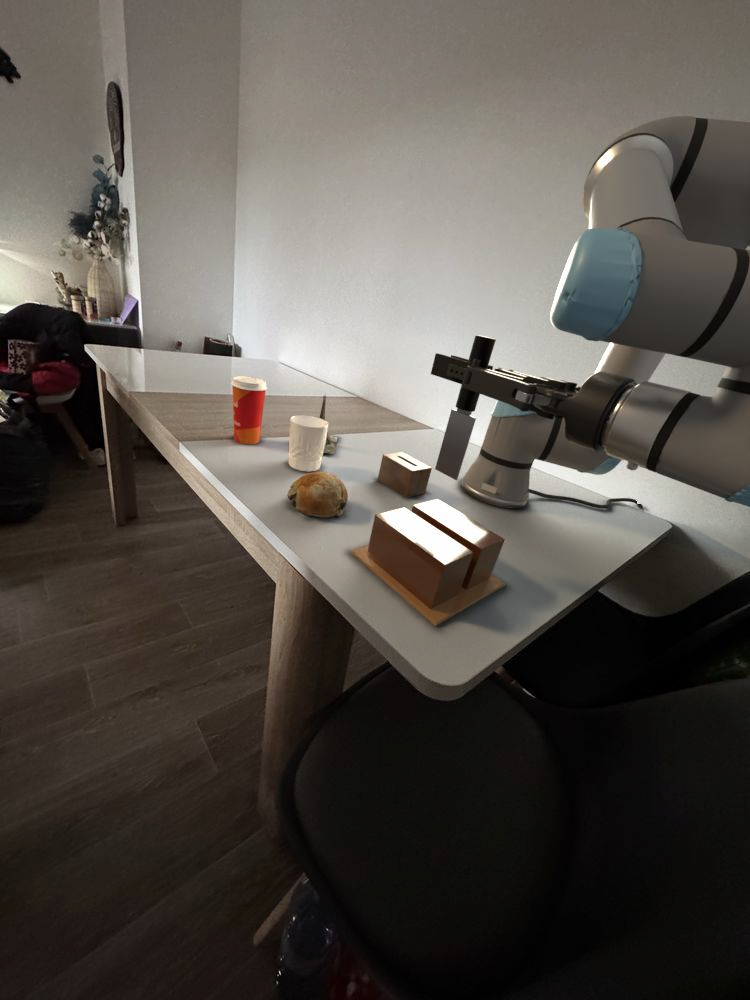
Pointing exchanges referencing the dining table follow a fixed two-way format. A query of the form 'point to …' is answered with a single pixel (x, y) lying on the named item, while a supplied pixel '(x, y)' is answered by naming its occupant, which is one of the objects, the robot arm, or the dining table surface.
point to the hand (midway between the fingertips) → (442, 364)
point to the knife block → (404, 474)
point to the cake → (433, 558)
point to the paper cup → (248, 408)
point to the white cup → (306, 442)
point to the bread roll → (318, 495)
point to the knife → (463, 415)
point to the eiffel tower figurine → (330, 441)
